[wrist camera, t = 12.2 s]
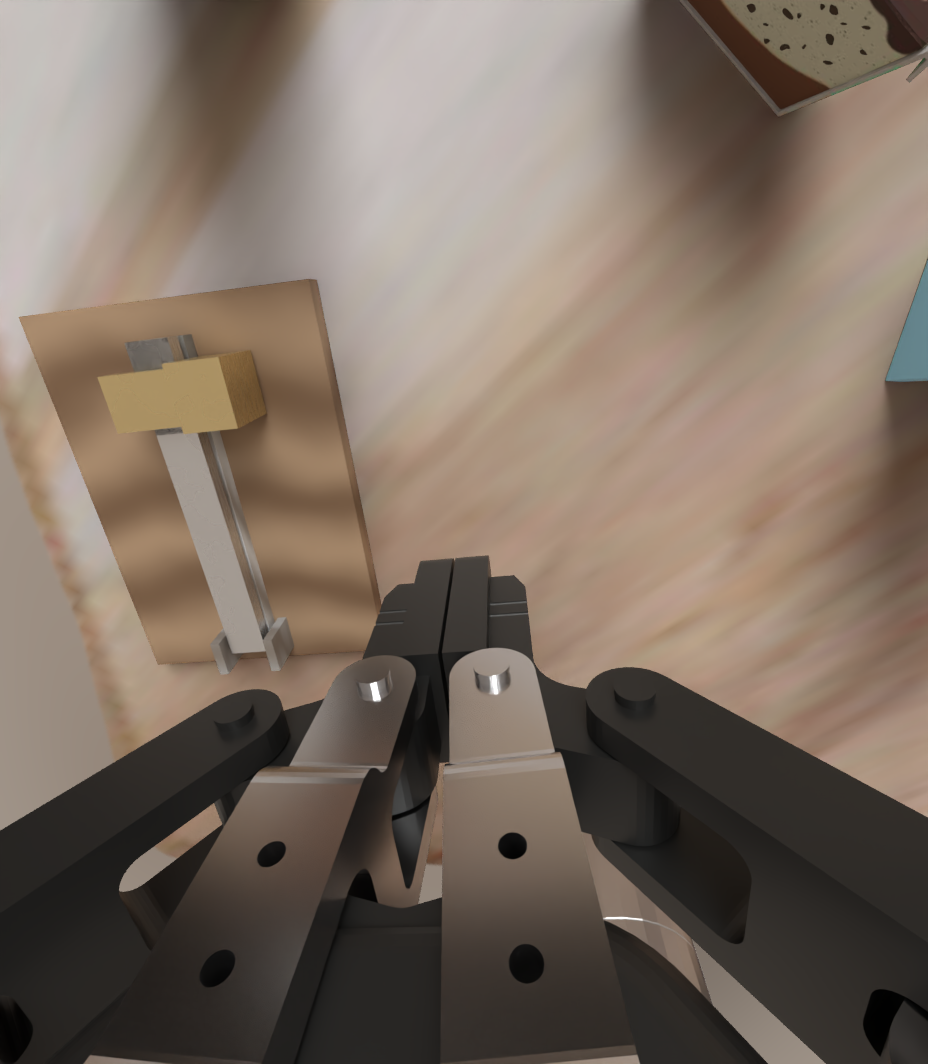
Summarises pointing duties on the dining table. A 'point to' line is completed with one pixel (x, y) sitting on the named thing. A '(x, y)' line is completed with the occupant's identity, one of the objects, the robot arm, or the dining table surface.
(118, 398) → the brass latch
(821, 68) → the food container
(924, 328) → the light blue flared block
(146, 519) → the wooden board with rail
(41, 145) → the dining table surface
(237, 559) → the tongs upper arm
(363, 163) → the dining table surface
